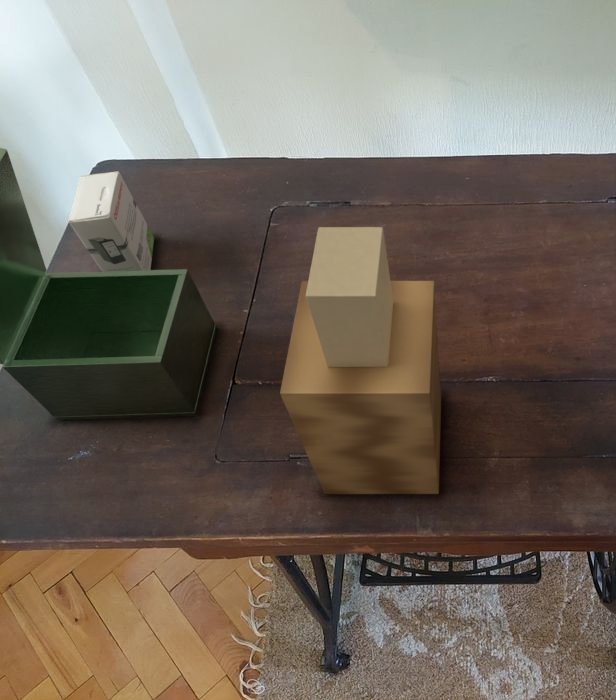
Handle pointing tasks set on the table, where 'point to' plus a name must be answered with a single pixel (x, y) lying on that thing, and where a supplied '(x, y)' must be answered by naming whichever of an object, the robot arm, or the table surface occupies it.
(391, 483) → the stand
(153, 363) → the bin
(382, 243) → the carton
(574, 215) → the table surface
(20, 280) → the lid
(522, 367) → the table surface
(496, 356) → the table surface
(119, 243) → the ink box
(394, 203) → the table surface
